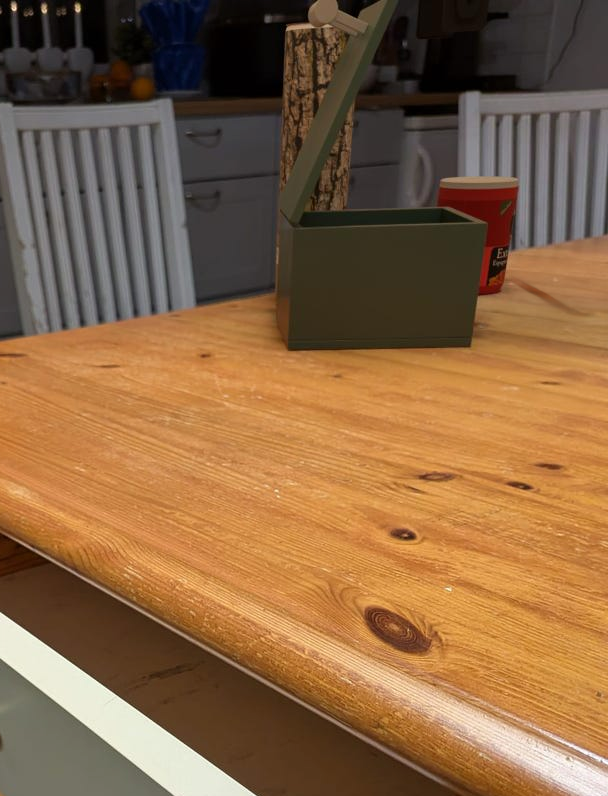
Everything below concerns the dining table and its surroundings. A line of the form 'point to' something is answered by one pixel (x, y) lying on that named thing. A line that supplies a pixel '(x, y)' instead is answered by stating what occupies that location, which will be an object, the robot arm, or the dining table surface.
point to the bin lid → (334, 95)
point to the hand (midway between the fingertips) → (448, 34)
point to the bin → (379, 278)
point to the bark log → (313, 112)
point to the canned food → (486, 218)
